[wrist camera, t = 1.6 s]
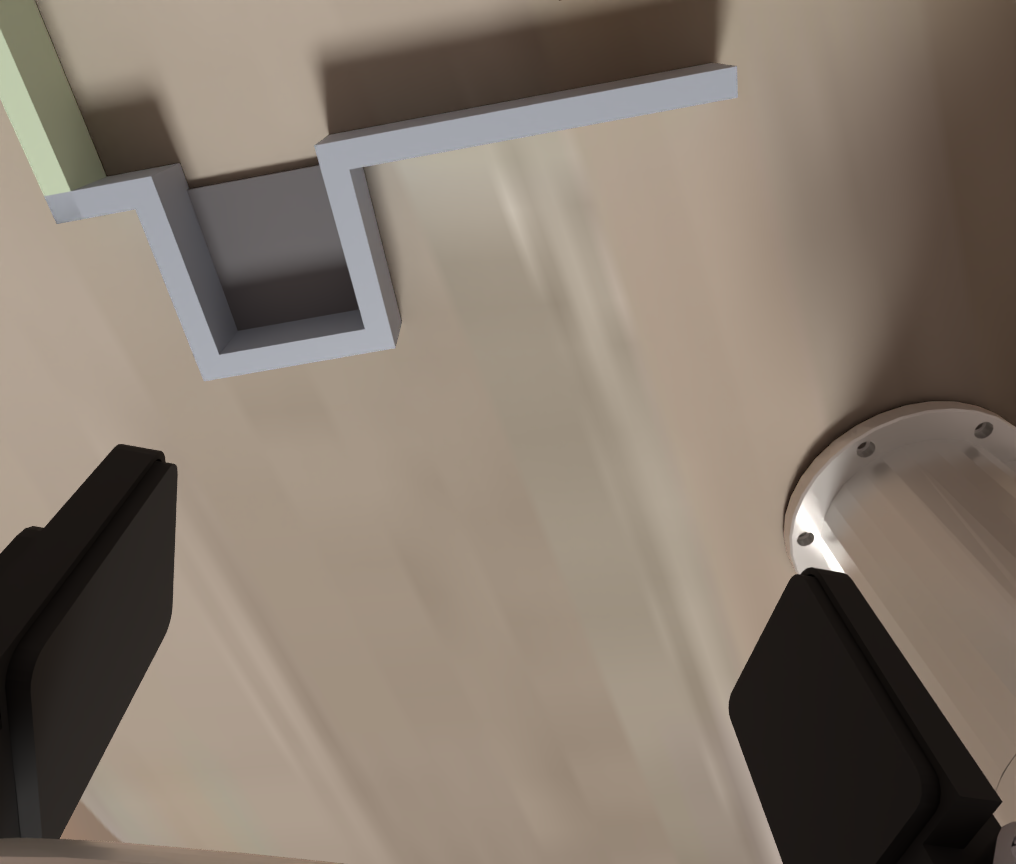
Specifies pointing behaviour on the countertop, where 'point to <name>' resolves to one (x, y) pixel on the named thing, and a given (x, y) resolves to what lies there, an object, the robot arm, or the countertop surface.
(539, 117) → the box
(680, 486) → the countertop surface
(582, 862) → the countertop surface
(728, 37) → the countertop surface
